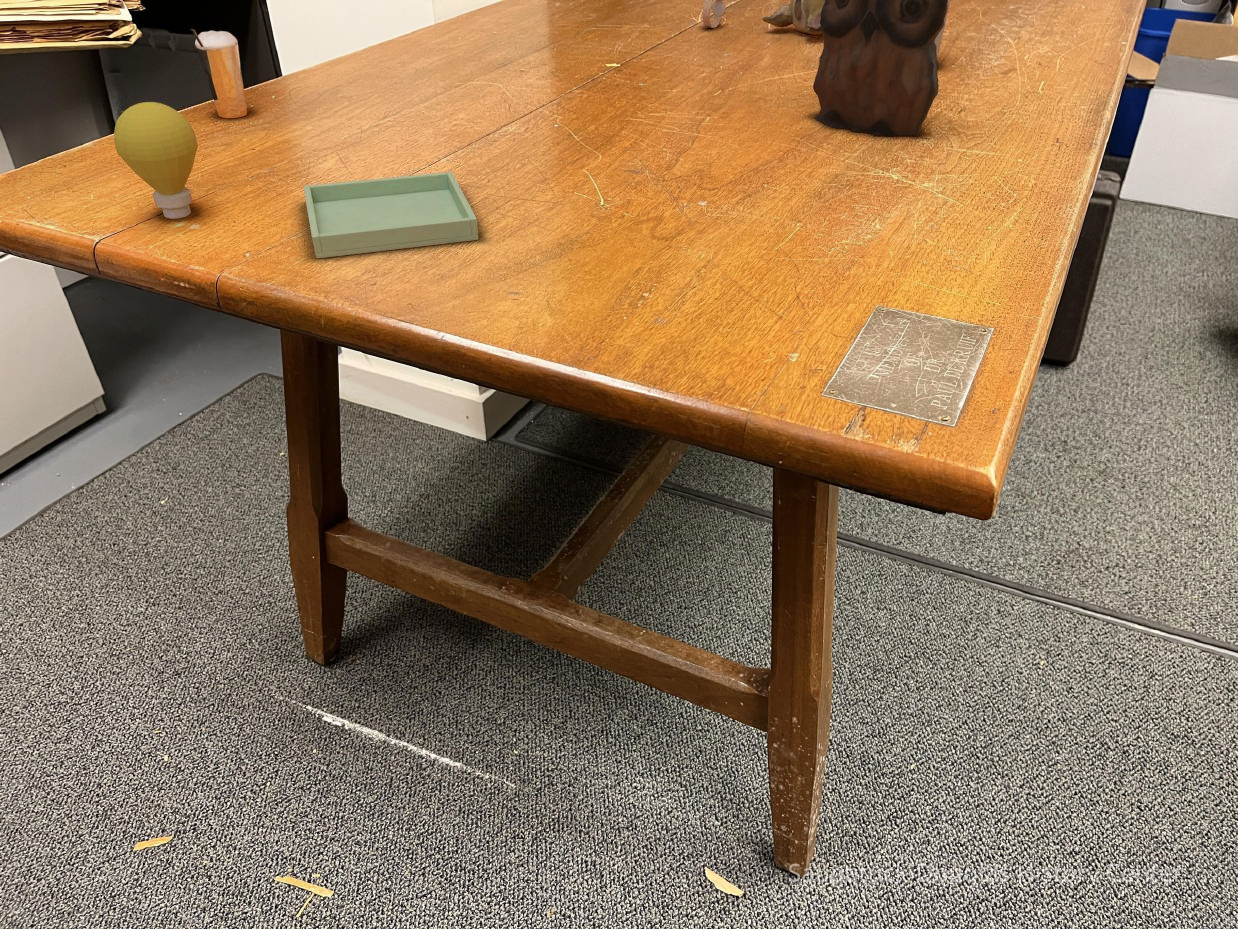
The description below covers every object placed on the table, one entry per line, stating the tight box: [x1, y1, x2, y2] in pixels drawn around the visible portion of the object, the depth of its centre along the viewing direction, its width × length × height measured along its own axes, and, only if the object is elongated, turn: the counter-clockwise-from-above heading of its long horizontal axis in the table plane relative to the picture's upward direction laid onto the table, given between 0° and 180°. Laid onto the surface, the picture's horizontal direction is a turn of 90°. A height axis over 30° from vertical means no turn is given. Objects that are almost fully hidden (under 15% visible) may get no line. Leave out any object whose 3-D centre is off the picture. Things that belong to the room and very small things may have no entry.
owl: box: [812, 0, 949, 137], centre depth 105 cm, size 13×13×20 cm
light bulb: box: [113, 101, 198, 220], centre depth 82 cm, size 7×7×10 cm
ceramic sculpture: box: [762, 0, 825, 36], centre depth 146 cm, size 11×9×15 cm
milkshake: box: [190, 29, 248, 119], centre depth 105 cm, size 4×5×10 cm
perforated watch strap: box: [701, 0, 727, 29], centre depth 148 cm, size 3×5×5 cm, turn 148°
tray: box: [302, 171, 479, 260], centre depth 84 cm, size 14×12×2 cm
